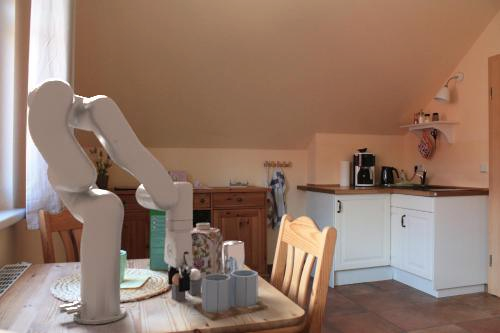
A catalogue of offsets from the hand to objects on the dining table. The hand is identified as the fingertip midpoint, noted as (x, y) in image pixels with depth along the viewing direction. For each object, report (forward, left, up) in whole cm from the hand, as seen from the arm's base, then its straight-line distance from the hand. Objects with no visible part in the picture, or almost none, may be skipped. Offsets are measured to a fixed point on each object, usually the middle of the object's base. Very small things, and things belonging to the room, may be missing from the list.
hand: (178, 287), depth 120 cm
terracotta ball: (0, 0, 0) cm, 0 cm away
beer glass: (+16, -3, -4) cm, 17 cm away
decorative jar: (+17, +19, -4) cm, 26 cm away
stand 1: (0, 0, -3) cm, 3 cm away
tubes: (+9, -14, -3) cm, 17 cm away
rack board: (+9, -14, -3) cm, 17 cm away
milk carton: (+10, +37, -4) cm, 39 cm away
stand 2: (+6, +2, -3) cm, 7 cm away
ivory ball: (+6, +2, 0) cm, 6 cm away
